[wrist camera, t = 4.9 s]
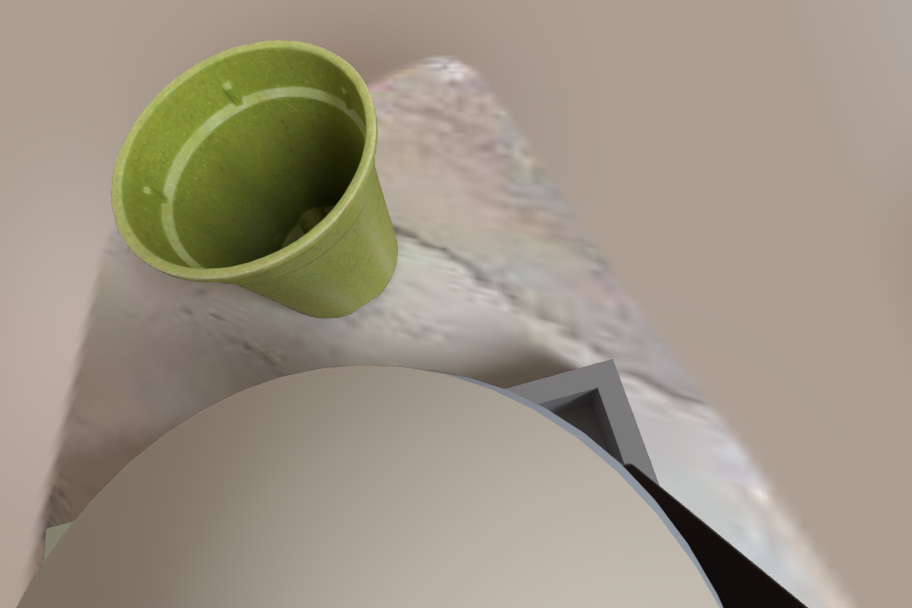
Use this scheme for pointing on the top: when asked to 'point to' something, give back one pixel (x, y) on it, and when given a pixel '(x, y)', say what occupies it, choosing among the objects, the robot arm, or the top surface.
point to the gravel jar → (372, 508)
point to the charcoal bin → (593, 409)
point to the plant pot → (261, 179)
